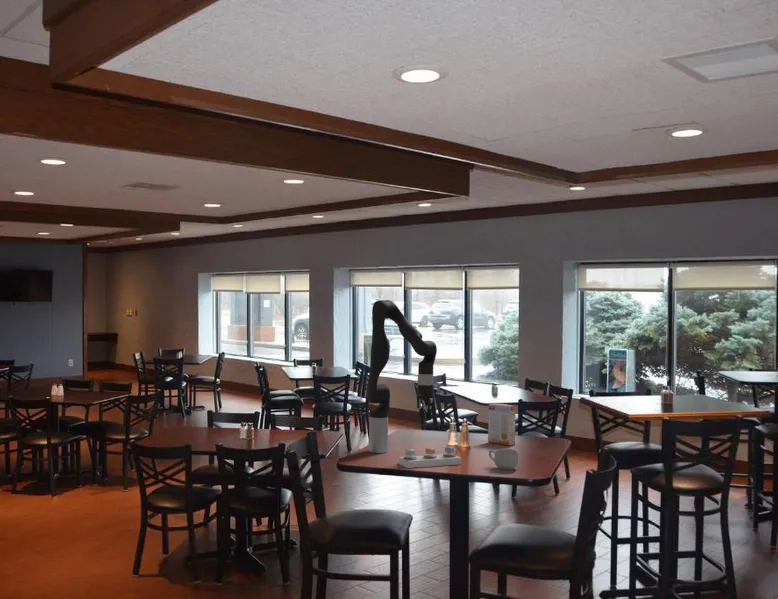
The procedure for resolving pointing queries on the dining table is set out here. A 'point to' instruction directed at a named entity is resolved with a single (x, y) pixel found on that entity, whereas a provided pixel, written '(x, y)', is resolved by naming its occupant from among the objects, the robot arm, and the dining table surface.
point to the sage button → (410, 452)
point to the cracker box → (501, 424)
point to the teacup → (505, 458)
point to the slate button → (449, 449)
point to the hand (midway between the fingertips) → (424, 419)
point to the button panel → (429, 460)
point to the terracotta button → (430, 450)
